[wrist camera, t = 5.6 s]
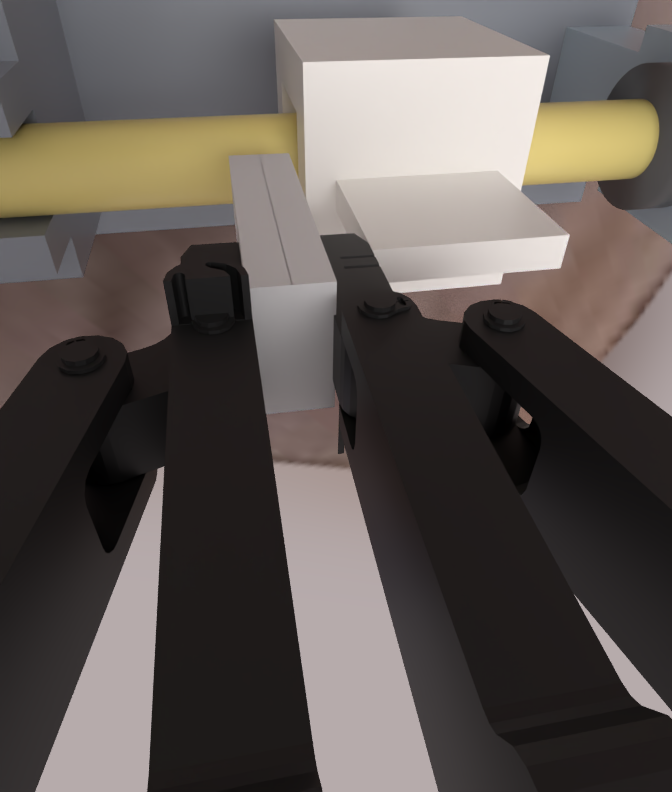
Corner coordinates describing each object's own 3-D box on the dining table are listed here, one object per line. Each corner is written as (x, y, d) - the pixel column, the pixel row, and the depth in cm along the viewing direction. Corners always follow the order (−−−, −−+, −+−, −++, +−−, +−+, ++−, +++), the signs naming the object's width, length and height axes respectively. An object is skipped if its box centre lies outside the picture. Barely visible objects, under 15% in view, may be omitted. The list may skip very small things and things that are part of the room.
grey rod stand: (34, 229, 26) (-46, 397, 17) (-74, -90, 19) (-300, -79, 10) (571, 193, 30) (728, 317, 21) (646, -83, 23) (930, -71, 14)
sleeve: (283, 215, 22) (333, 385, 14) (273, 19, 18) (335, 110, 10) (437, 205, 23) (561, 360, 15) (461, 15, 19) (646, 97, 11)
